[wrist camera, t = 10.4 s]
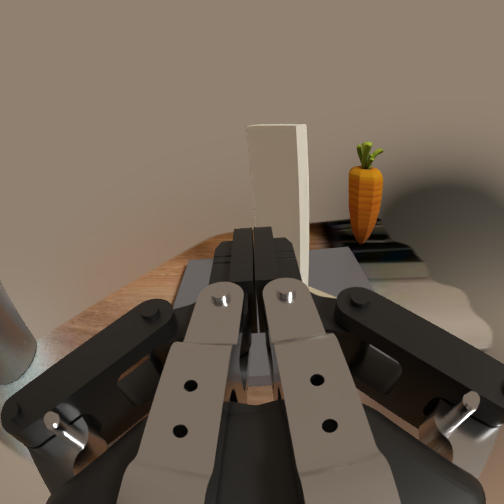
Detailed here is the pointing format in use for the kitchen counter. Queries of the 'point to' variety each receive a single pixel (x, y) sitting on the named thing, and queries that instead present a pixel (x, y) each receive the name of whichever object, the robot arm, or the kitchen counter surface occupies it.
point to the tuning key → (282, 186)
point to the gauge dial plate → (197, 278)
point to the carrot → (364, 193)
